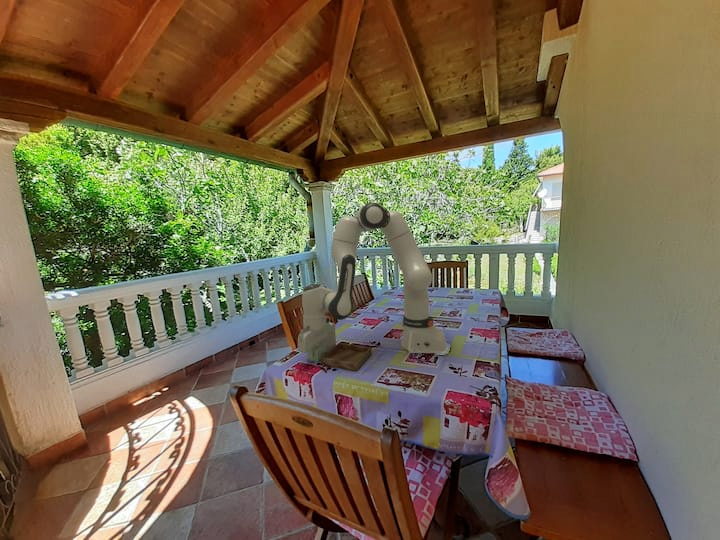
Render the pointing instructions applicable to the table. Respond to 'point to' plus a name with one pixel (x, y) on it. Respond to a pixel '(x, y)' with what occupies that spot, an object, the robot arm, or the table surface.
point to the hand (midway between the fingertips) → (315, 353)
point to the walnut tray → (346, 356)
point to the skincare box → (330, 338)
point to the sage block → (317, 353)
